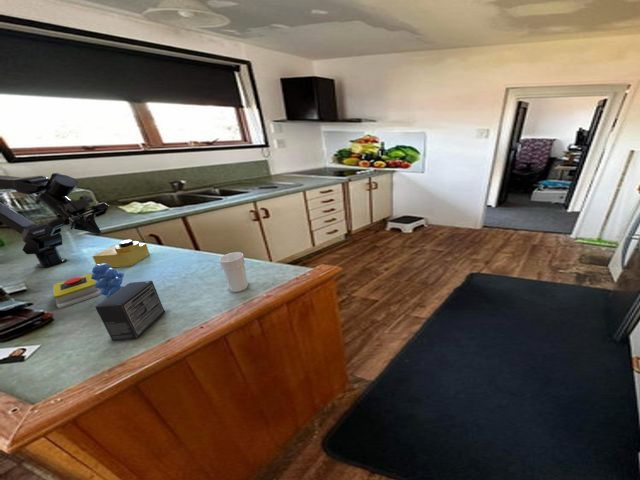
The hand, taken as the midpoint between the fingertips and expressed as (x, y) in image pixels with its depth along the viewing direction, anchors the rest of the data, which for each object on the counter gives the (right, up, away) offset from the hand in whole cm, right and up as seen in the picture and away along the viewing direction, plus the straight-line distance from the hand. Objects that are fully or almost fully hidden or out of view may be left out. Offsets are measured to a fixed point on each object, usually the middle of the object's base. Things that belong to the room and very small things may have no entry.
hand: (100, 233), depth 104 cm
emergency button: (+10, -19, -16) cm, 27 cm away
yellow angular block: (+6, -11, +4) cm, 13 cm away
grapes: (+26, -19, -19) cm, 37 cm away
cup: (+63, -17, -17) cm, 67 cm away
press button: (+8, -5, +2) cm, 10 cm away
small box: (+45, -23, -33) cm, 60 cm away
